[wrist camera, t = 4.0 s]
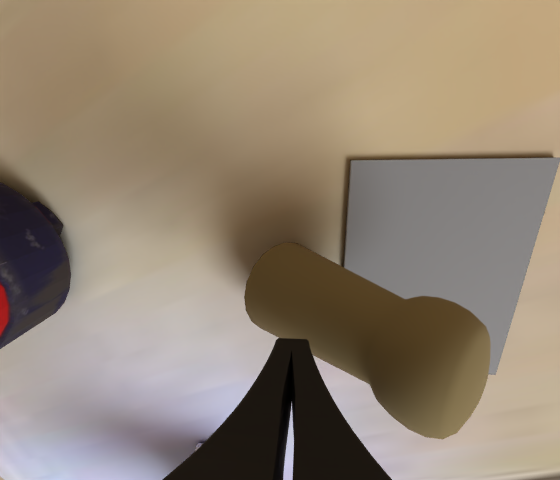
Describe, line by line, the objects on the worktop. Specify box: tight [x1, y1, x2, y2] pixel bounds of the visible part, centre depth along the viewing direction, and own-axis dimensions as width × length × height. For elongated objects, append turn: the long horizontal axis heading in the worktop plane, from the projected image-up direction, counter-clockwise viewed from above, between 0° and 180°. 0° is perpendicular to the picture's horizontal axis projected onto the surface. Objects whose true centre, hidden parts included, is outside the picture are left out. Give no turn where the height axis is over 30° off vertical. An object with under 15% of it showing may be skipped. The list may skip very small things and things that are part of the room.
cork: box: [244, 242, 491, 439], centre depth 14 cm, size 6×6×11 cm
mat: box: [344, 158, 560, 375], centre depth 19 cm, size 16×12×1 cm
